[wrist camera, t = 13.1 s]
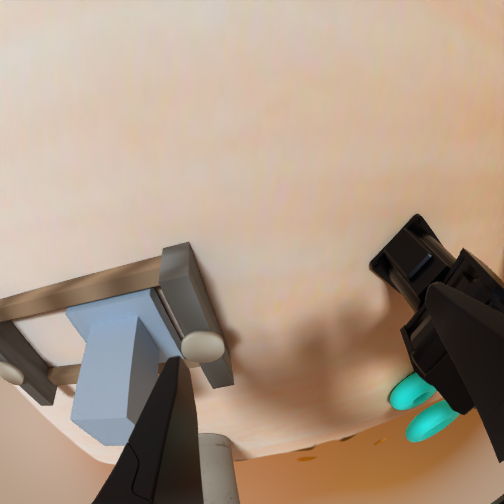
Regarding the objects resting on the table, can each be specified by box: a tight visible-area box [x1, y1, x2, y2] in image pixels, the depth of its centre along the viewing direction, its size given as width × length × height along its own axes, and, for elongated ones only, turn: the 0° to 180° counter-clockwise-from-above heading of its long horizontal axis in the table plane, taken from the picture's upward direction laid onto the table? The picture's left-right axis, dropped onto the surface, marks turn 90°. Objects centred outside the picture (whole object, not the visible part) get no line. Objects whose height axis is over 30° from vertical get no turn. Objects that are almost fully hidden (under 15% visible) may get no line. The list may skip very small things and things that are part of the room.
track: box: [0, 242, 234, 406], centre depth 23 cm, size 24×13×5 cm, turn 100°
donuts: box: [390, 372, 459, 442], centre depth 39 cm, size 10×10×10 cm
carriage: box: [65, 287, 184, 446], centre depth 21 cm, size 8×8×10 cm
